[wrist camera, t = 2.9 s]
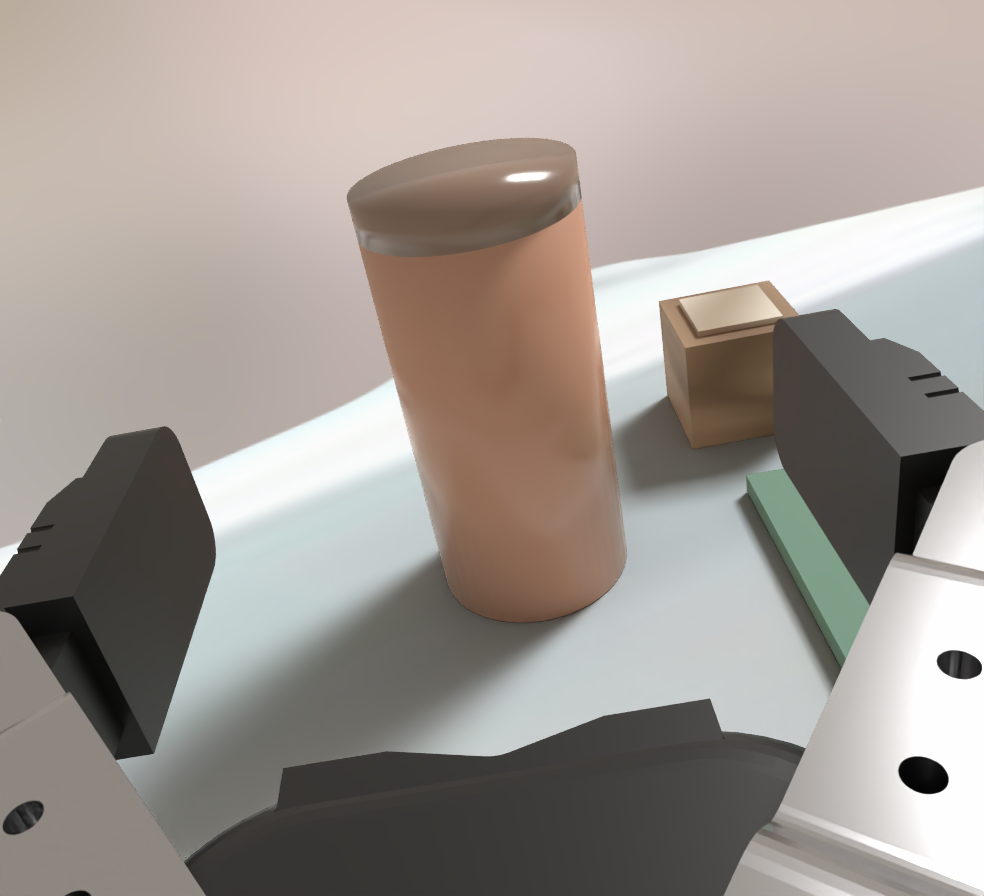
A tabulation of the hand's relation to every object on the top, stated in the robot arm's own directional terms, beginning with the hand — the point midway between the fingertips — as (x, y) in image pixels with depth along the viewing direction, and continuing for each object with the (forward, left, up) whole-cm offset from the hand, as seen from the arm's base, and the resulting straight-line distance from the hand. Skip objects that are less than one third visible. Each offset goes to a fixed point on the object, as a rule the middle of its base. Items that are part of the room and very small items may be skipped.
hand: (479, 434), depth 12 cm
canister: (0, -12, -12) cm, 17 cm away
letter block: (-8, -18, -12) cm, 23 cm away
